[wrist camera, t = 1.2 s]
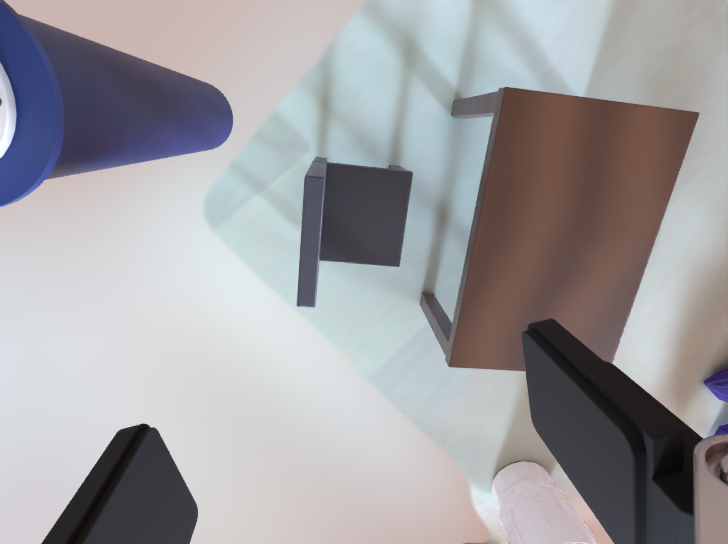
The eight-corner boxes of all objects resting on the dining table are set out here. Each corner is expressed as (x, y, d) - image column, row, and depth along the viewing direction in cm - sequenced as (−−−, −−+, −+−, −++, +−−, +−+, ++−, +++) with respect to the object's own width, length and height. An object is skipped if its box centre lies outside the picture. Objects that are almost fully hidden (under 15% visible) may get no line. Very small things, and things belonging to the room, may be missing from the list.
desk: (418, 306, 38) (448, 367, 29) (452, 99, 33) (505, 86, 23) (539, 314, 40) (608, 376, 30) (592, 117, 34) (700, 112, 24)
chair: (309, 240, 35) (296, 307, 22) (315, 156, 33) (304, 175, 20) (389, 247, 36) (423, 315, 23) (400, 165, 34) (445, 189, 21)
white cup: (474, 474, 46) (512, 564, 36) (540, 445, 45) (595, 528, 36) (499, 519, 48) (539, 613, 39) (561, 492, 48) (618, 581, 38)
